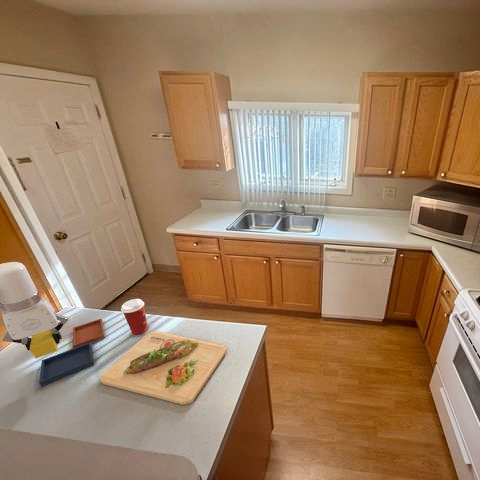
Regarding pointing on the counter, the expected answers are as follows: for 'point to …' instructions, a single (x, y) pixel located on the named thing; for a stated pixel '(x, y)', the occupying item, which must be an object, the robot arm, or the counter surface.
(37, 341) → the sponge
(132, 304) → the paper cup
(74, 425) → the counter surface
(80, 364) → the baking tray
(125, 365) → the cutting board
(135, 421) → the counter surface
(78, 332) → the sponge dish
